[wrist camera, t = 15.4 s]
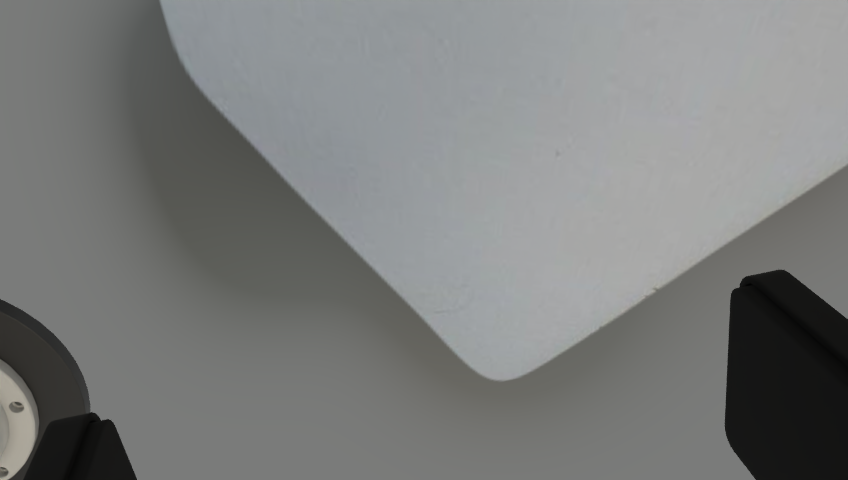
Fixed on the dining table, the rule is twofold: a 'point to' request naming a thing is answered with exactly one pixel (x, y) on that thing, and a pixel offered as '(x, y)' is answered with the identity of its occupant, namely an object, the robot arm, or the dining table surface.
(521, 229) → the dining table surface
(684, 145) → the dining table surface
